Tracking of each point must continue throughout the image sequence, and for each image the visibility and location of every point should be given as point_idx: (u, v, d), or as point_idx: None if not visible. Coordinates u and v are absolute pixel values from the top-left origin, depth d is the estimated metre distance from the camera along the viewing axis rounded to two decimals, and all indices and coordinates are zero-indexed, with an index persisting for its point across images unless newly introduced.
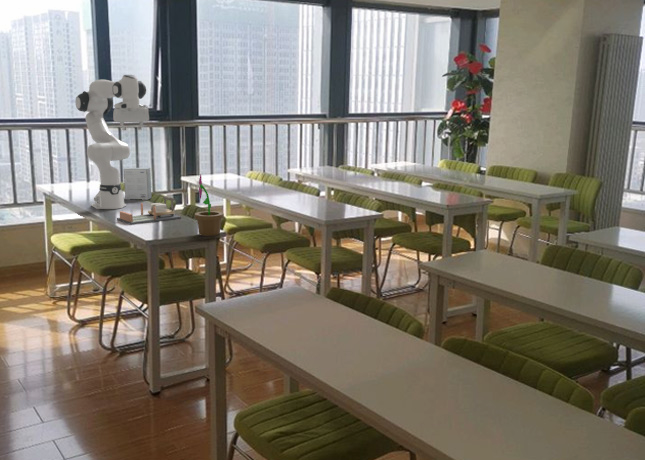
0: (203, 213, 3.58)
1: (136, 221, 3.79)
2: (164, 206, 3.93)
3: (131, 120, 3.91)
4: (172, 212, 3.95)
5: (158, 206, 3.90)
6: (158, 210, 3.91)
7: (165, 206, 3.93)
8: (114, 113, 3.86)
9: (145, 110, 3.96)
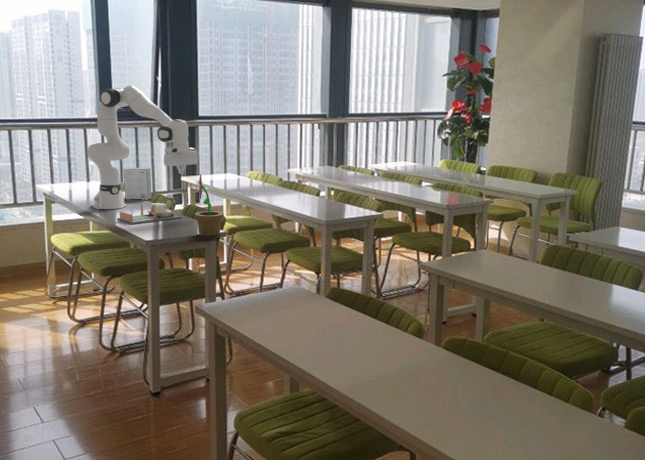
0: (203, 213, 3.58)
1: (136, 221, 3.79)
2: (164, 206, 3.93)
3: (181, 164, 3.98)
4: (172, 212, 3.95)
5: (158, 206, 3.90)
6: (158, 210, 3.91)
7: (165, 206, 3.93)
8: (165, 157, 3.93)
9: (194, 153, 4.02)
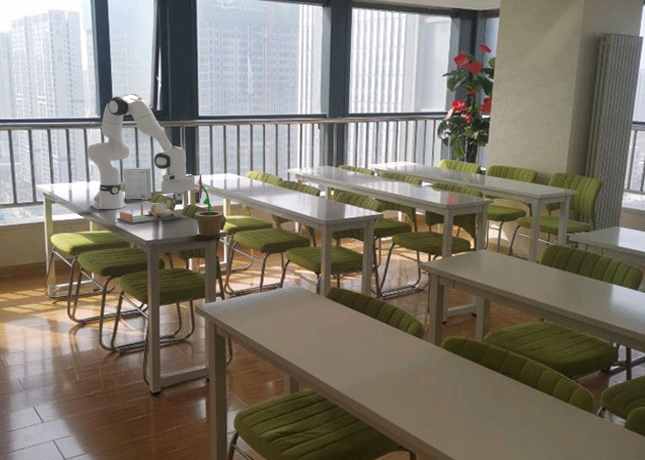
0: (203, 213, 3.58)
1: (136, 221, 3.79)
2: (164, 206, 3.93)
3: (178, 190, 3.99)
4: (172, 212, 3.95)
5: (158, 206, 3.90)
6: (158, 210, 3.91)
7: (165, 206, 3.93)
8: (162, 184, 3.95)
9: (191, 180, 4.04)
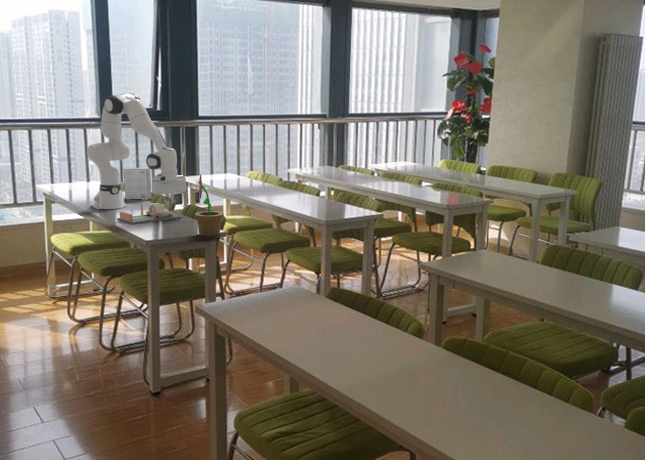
0: (203, 213, 3.58)
1: (136, 221, 3.79)
2: (162, 206, 3.92)
3: (169, 191, 3.96)
4: (170, 212, 3.94)
5: (156, 206, 3.90)
6: (156, 210, 3.90)
7: (163, 206, 3.92)
8: (153, 185, 3.91)
9: (183, 181, 4.00)
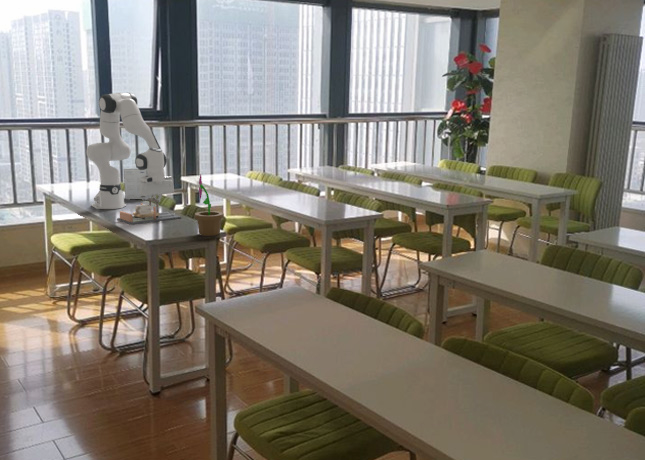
0: (203, 213, 3.58)
1: (136, 221, 3.79)
2: (149, 208, 3.87)
3: (156, 193, 3.90)
4: (157, 214, 3.89)
5: (143, 208, 3.84)
6: (143, 212, 3.85)
7: (150, 208, 3.87)
8: (140, 187, 3.86)
9: (170, 182, 3.95)
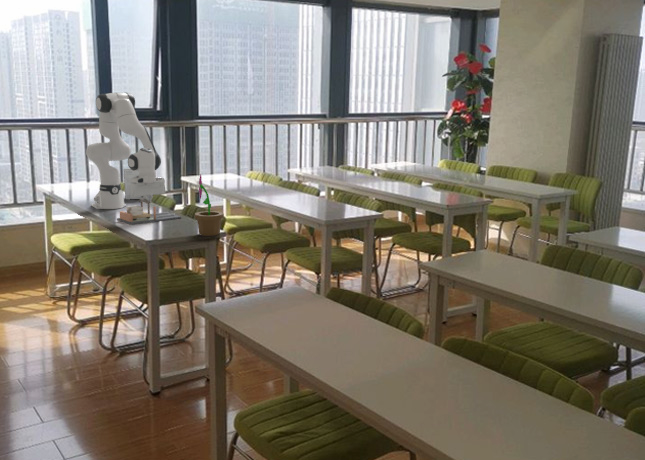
0: (203, 213, 3.58)
1: (136, 221, 3.79)
2: (140, 209, 3.83)
3: (148, 194, 3.87)
4: (148, 215, 3.86)
5: (134, 209, 3.81)
6: (134, 213, 3.81)
7: (141, 209, 3.84)
8: (130, 187, 3.82)
9: (161, 183, 3.91)
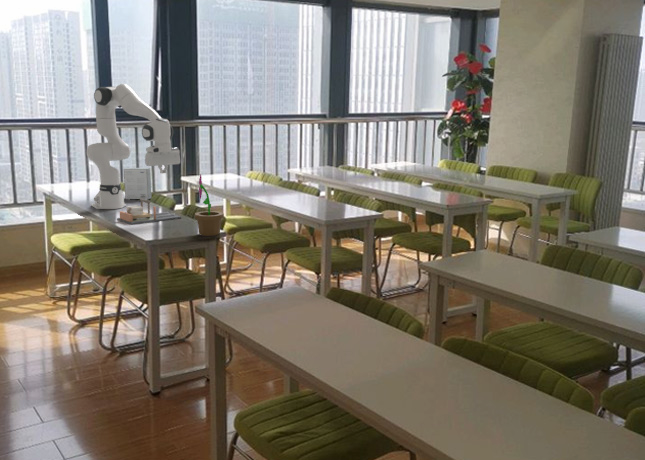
0: (203, 213, 3.58)
1: (136, 221, 3.79)
2: (140, 209, 3.83)
3: (163, 163, 3.90)
4: (148, 215, 3.86)
5: (134, 209, 3.81)
6: (134, 213, 3.81)
7: (141, 209, 3.84)
8: (146, 157, 3.85)
9: (176, 153, 3.94)
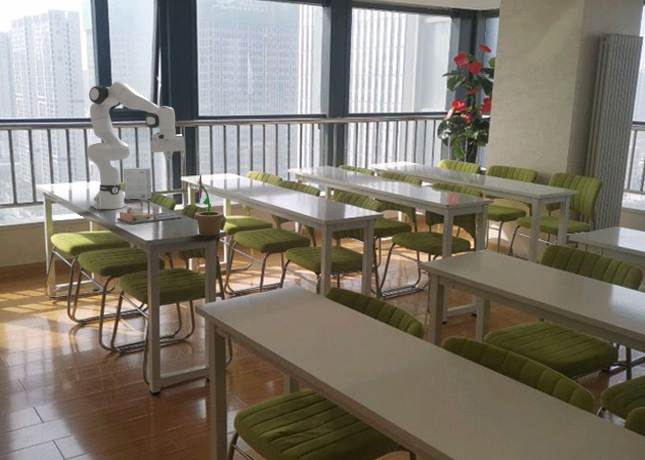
0: (203, 213, 3.58)
1: (136, 221, 3.79)
2: (140, 209, 3.83)
3: (168, 150, 4.01)
4: (148, 215, 3.86)
5: (134, 209, 3.81)
6: (134, 213, 3.81)
7: (141, 209, 3.84)
8: (151, 143, 3.96)
9: (181, 140, 4.05)
